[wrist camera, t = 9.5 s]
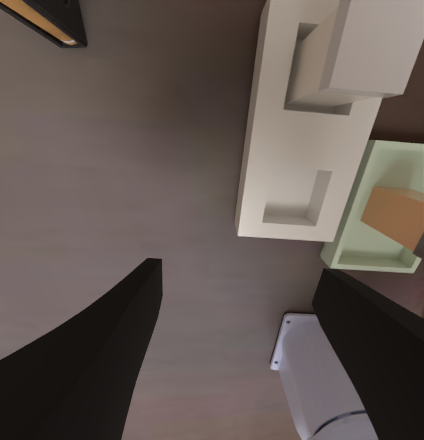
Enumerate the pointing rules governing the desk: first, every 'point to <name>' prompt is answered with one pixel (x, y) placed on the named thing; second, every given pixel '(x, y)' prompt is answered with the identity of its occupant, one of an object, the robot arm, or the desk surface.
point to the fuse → (357, 53)
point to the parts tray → (361, 189)
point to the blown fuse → (397, 216)
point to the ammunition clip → (50, 19)
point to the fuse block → (296, 138)
